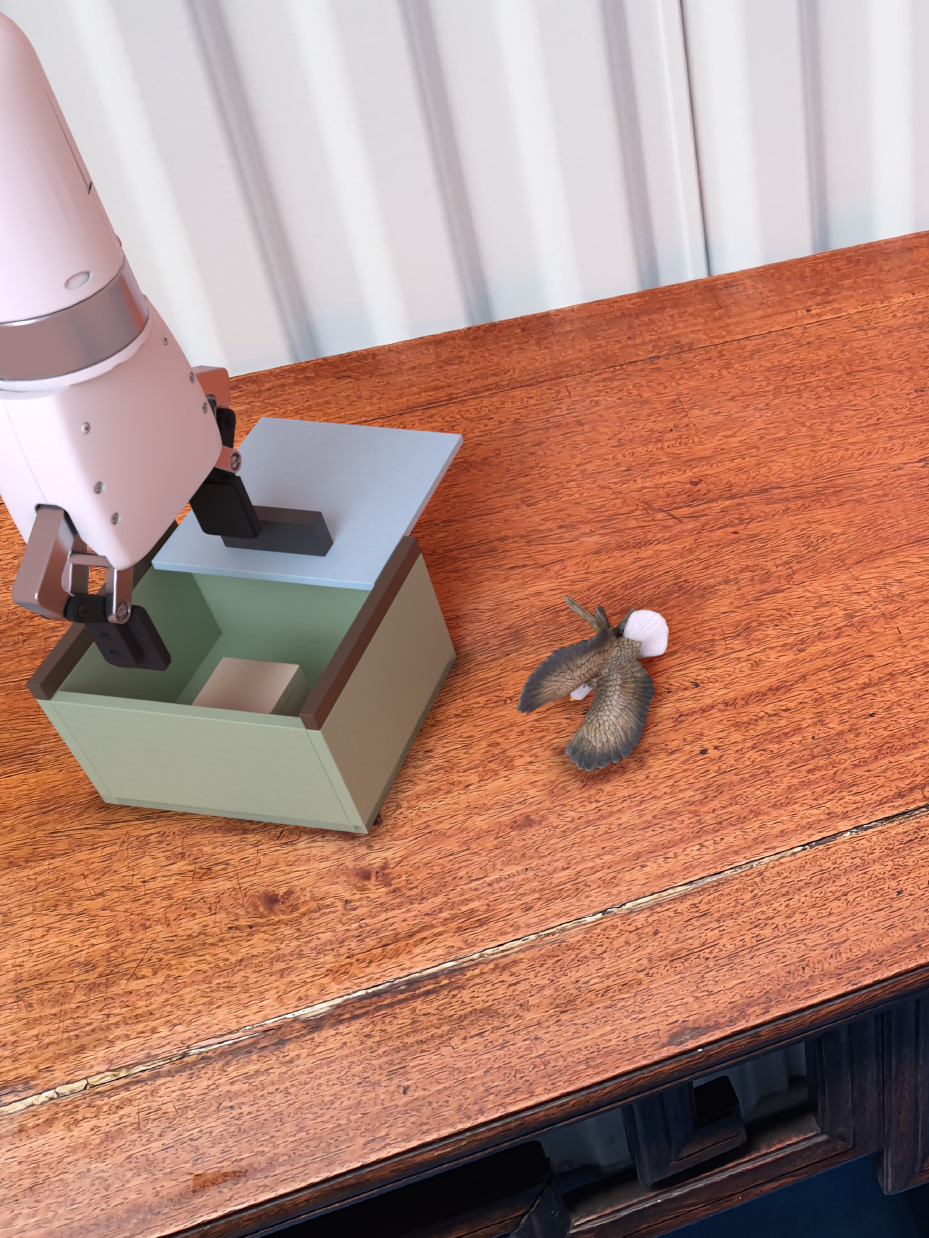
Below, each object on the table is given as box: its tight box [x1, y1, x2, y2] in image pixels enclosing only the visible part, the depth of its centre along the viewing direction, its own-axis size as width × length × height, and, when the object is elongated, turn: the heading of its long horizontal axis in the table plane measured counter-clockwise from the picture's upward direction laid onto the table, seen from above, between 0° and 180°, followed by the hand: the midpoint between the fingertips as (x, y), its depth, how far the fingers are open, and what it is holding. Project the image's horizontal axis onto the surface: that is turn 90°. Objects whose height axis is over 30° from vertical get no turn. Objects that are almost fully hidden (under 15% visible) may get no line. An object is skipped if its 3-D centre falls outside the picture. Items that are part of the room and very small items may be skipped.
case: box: [25, 519, 457, 835], centre depth 79 cm, size 16×14×10 cm
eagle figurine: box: [515, 595, 670, 773], centre depth 81 cm, size 8×7×9 cm
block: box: [192, 657, 312, 717], centre depth 79 cm, size 5×5×5 cm
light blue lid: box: [152, 416, 465, 591], centre depth 82 cm, size 13×14×3 cm
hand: (189, 595), depth 72 cm, fingers open, 9 cm apart
